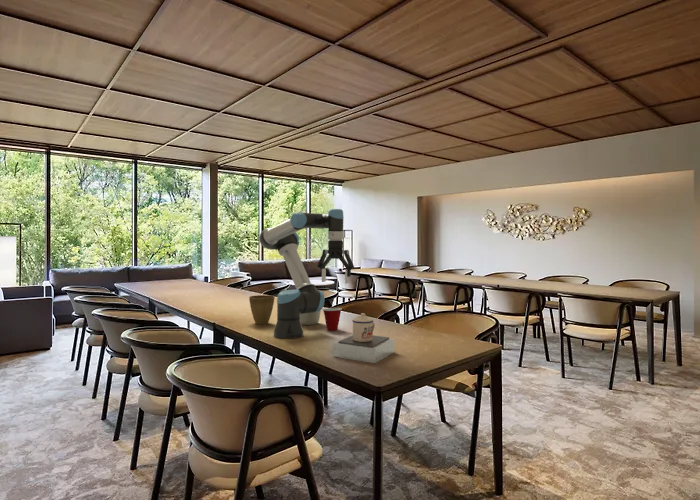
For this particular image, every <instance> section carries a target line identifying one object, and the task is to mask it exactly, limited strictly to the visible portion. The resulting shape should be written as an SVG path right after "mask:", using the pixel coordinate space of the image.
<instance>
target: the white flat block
mask: <svg viewBox="0 0 700 500" xmlns="http://www.w3.org/2000/svg"><path fill="white" fill-rule="evenodd" d="M393 353H395V338H390V336H389V337H388V336H383V335H380V336H379V335H373V339H372V341H370V342H357V341H354V340H353V334H350V335H349V336H345V337H344V338H341V339H339V340H336V341H334V342H332V357H333V358H341V359H346V360H352V361H357V362H365V363H370V364H377V363H379V362H380V361H381V360H383V359H385V358H386V357H389V356H390V355H391V354H393Z"/></svg>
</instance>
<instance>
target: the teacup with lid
mask: <svg viewBox="0 0 700 500" xmlns="http://www.w3.org/2000/svg"><path fill="white" fill-rule="evenodd" d="M351 321H352V335H353V340H354V341H357V342H370V341H372V339H373V333H374V329H375V323H374V319H373V318H372V317H369V316H368V315H366V313H364V312H362V313H360V315H358V316H355V317H354V318H353V319H352V320H351Z"/></svg>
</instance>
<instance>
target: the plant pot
mask: <svg viewBox="0 0 700 500" xmlns="http://www.w3.org/2000/svg"><path fill="white" fill-rule="evenodd" d="M248 299H249V300H248V301H249V306H250V311H251V314H252V318H253V321H254V323H255V324H256V325H267V324H269V322H270V319H271V315H272V312H273V308H274V304H275V296H274V295H269V294H268V295H266V294H262V295H261V294H260V295H259V294H257V295H250V296H249V297H248Z"/></svg>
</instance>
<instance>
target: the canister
mask: <svg viewBox="0 0 700 500" xmlns="http://www.w3.org/2000/svg"><path fill="white" fill-rule="evenodd" d="M321 312H322V309H321V310H320V311H318V312H314V313H304V314H300V323H301V326H313V325H317V324H319V322H320V317H321Z"/></svg>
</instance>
